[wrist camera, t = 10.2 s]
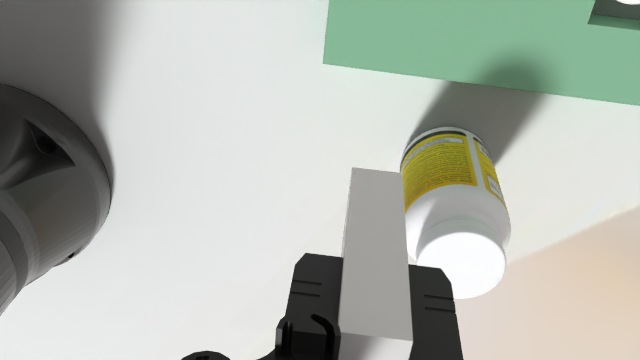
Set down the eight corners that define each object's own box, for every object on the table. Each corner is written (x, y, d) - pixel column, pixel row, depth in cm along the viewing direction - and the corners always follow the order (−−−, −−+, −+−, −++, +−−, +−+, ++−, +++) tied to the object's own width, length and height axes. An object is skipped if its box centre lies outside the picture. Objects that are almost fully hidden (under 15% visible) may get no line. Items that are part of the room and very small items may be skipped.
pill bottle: (385, 181, 41) (381, 285, 31) (425, 109, 38) (435, 201, 28) (462, 213, 41) (482, 324, 32) (508, 145, 38) (545, 246, 29)
